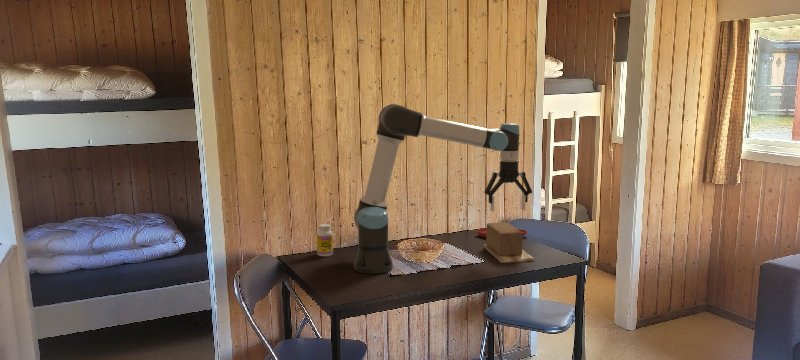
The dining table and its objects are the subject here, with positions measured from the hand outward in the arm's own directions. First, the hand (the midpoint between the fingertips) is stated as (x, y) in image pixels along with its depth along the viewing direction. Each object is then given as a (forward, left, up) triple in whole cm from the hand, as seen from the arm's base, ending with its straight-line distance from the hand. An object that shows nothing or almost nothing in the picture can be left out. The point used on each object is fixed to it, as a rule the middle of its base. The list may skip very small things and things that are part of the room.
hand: (507, 210), depth 264 cm
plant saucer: (+7, +29, -19) cm, 35 cm away
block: (-1, +11, -12) cm, 17 cm away
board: (0, -1, -19) cm, 19 cm away
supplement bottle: (-77, +10, -19) cm, 80 cm away
